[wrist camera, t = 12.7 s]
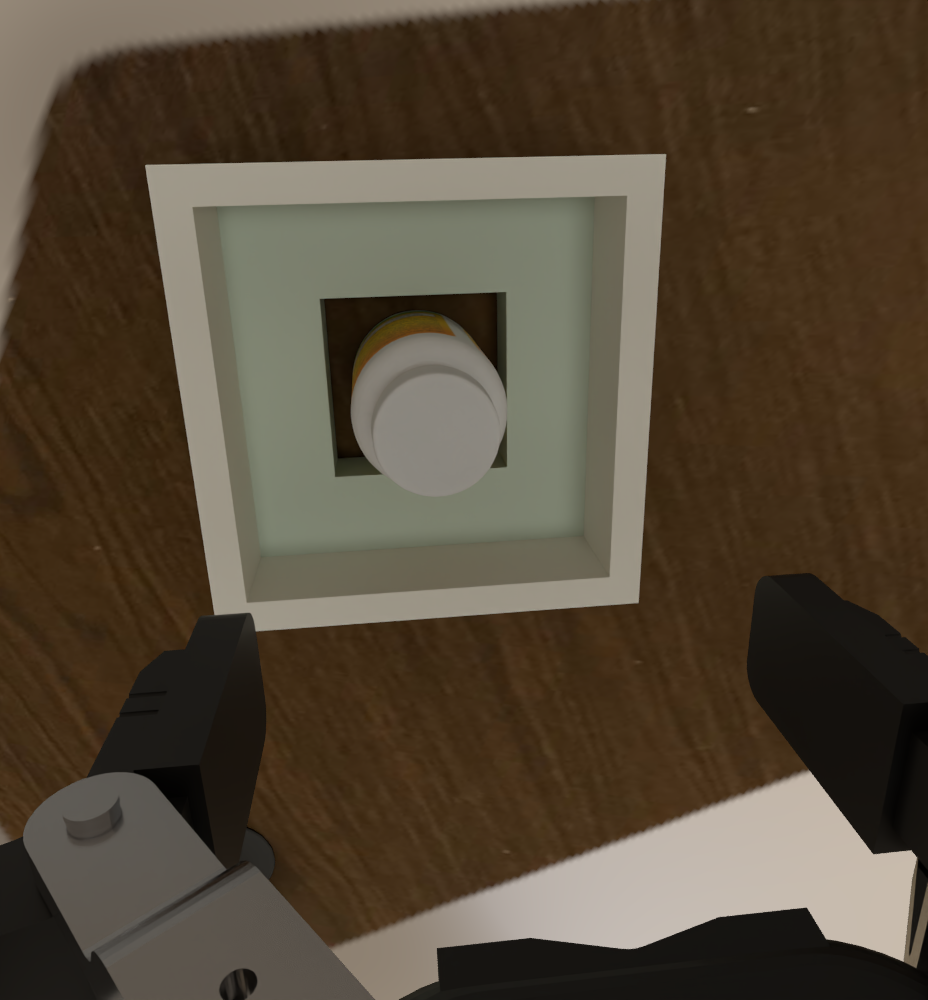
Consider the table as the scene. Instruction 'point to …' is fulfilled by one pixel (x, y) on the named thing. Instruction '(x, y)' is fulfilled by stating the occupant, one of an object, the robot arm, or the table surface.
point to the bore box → (308, 392)
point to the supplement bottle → (426, 404)
